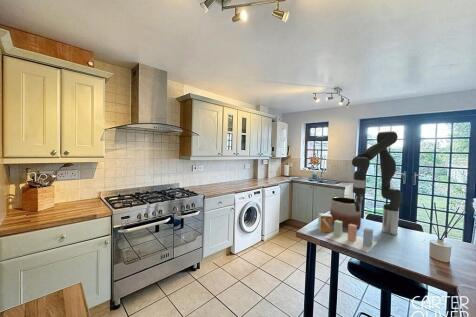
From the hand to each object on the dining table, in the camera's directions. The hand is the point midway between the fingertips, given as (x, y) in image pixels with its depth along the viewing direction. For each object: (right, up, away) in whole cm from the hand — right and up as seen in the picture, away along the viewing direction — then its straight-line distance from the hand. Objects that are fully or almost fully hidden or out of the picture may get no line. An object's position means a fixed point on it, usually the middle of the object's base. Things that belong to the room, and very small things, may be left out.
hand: (357, 211), depth 139 cm
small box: (-18, -18, +10) cm, 28 cm away
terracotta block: (-7, -18, -5) cm, 20 cm away
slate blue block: (-1, -18, -12) cm, 22 cm away
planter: (+5, -18, +26) cm, 32 cm away
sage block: (-13, -17, +1) cm, 22 cm away
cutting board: (-8, -19, -4) cm, 21 cm away
